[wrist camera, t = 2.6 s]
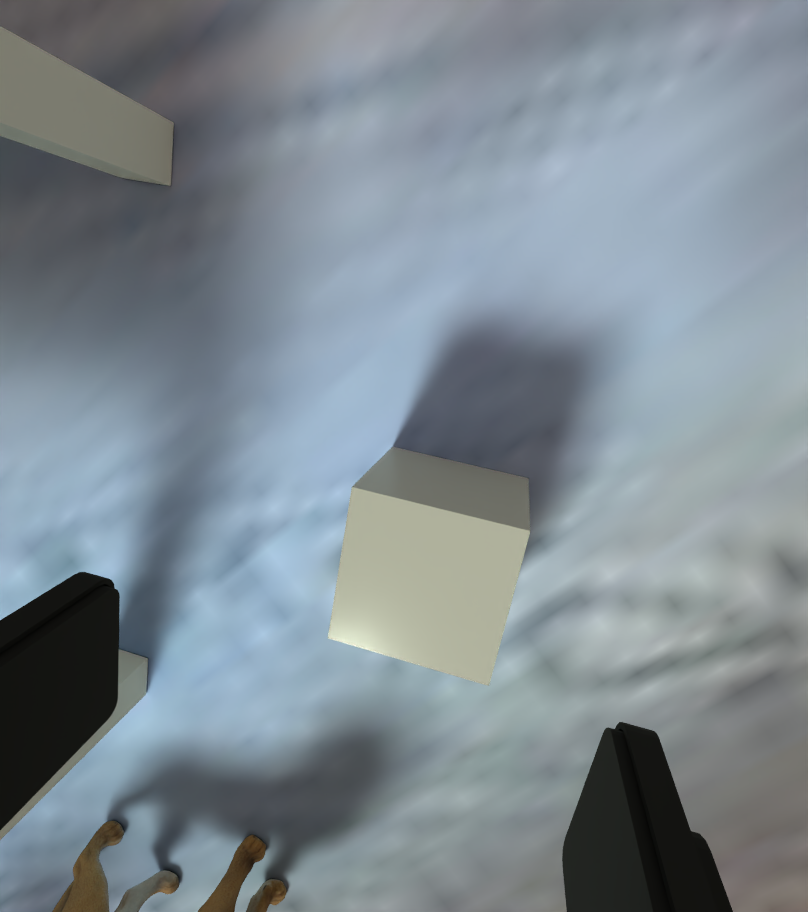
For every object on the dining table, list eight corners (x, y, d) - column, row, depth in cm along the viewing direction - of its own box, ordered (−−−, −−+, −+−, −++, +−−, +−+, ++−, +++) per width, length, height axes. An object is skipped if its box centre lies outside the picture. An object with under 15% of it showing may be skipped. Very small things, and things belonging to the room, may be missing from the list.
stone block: (528, 477, 19) (530, 530, 14) (496, 599, 20) (488, 685, 16) (392, 446, 20) (351, 487, 15) (371, 566, 21) (327, 638, 16)
